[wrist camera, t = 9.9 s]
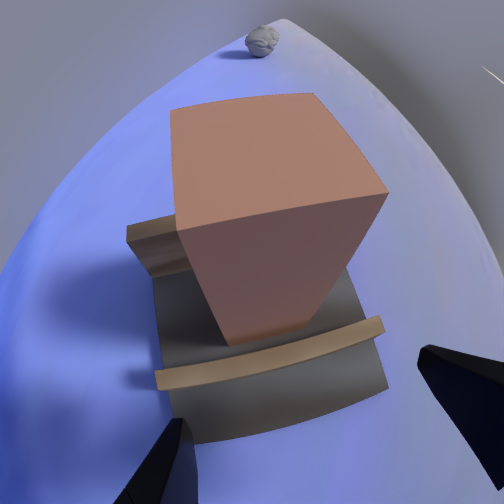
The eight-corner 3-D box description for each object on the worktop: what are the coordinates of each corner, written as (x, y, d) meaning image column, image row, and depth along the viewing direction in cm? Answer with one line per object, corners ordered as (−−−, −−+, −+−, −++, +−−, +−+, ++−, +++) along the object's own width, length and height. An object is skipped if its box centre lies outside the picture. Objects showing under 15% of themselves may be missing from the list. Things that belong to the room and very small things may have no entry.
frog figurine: (285, 57, 43) (286, 27, 37) (257, 63, 41) (258, 30, 35) (264, 50, 45) (265, 22, 39) (237, 56, 43) (236, 26, 37)
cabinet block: (303, 328, 17) (389, 192, 6) (228, 346, 17) (176, 230, 5) (280, 253, 20) (304, 84, 9) (212, 267, 19) (170, 100, 8)
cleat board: (382, 389, 16) (430, 381, 11) (184, 443, 14) (154, 462, 9) (325, 233, 22) (343, 183, 17) (155, 269, 20) (126, 226, 15)
